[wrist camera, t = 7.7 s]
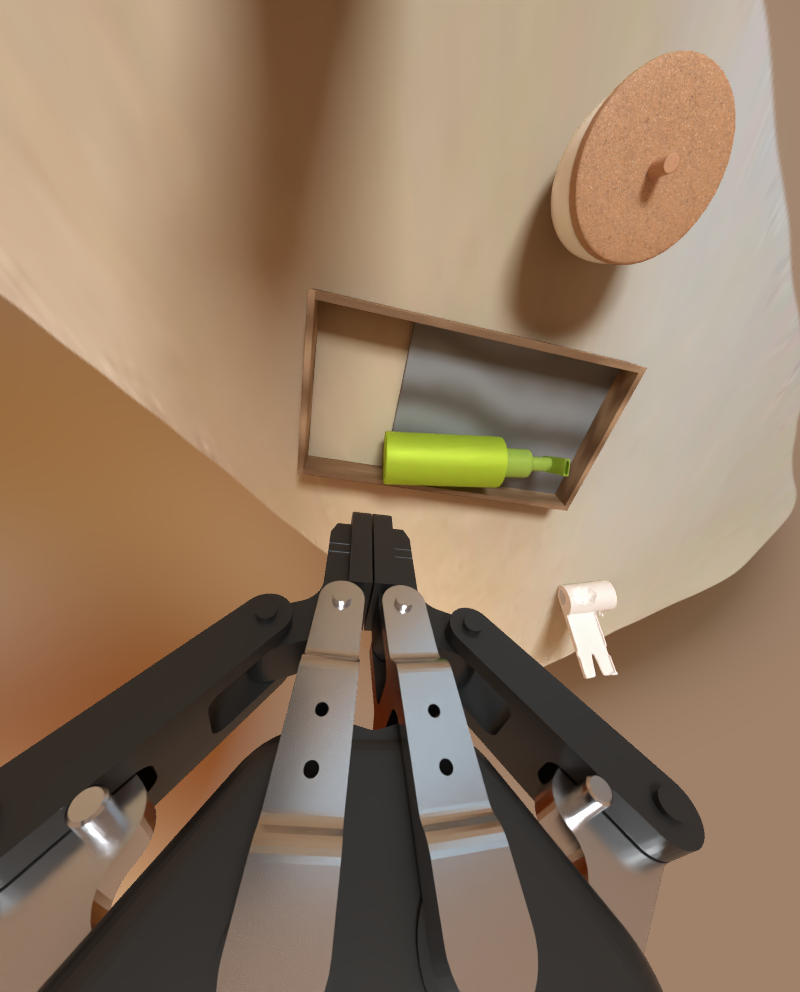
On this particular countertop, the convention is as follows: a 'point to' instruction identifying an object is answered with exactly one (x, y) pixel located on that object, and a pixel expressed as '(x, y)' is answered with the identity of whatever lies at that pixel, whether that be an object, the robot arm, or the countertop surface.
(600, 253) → the lidded jar
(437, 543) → the countertop surface
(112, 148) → the countertop surface
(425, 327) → the wooden tray
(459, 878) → the robot arm
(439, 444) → the soap dispenser
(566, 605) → the plastic part
